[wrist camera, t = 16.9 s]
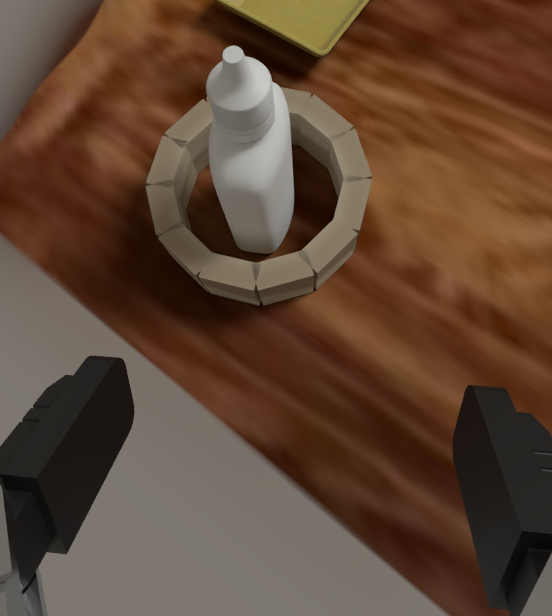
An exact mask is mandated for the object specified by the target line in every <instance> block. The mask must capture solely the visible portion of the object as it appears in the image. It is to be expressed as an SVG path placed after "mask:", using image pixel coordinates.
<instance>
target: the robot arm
mask: <svg viewBox="0 0 552 616" xmlns="http://www.w3.org/2000/svg"><path fill="white" fill-rule="evenodd" d="M133 419H134V403H133V398H132V393H131V389H130V384H129V379H128V375H127V370H126V365H125V362H124V360H123V359H122V358H116V357H115V358H114V357H103V356H89V357H87V358H86V360H85V361H84V362H83V363H82V365H81V366H80V367H79V369H78V370H77V371H76V373H75V374H74V375H73V376H72V375H65V376H64V377H62V378H61V379H59V380H58V381H57V382H55V383H54V384H52V385H51V386H49V387H48V388H47V389H46V390H45V391H44V392H43V394H42V395H41V396H40V397H39V399H38V400H37V401H36V402H35V404H34V405H33V408H31V409H30V410H29V411H28V412H27V414H26V415H25V416H24V418H23V421H22V422H19V424H18V425H17V426H16V428H15V429H14V430H13V431H12V433H11V434H10V435H9V436H8V438H7V439H6V440H5V442H4V443H3V444H2V445H1V446H0V616H47V610H46V604H45V599H44V592H43V587H42V580H41V575H40V571H39V568H38V566H39V565H40V563H41V561H42V559H43V557H44V555H45V554H46V552H51V553H60V554H67V552H68V551H69V548H70V547H71V545H72V543H73V541H74V539H75V537H76V535H77V533H78V531H79V529H80V527H81V525H82V523H83V521H84V519H85V518H86V516H87V514H88V512H89V510H90V508H91V506H92V504H93V502H94V500H95V498H96V496H97V494H98V492H99V490H100V488H101V486H102V484H103V483H104V481H105V479H106V477H107V475H108V473H109V471H110V469H111V467H112V465H113V463H114V461H115V459H116V457H117V455H118V453H119V451H120V450H121V448H122V445H123V444H124V442H125V440H126V438H127V436H128V434H129V432H130V430H131V427H132V424H133ZM453 459H454V464H455V468H456V472H457V476H458V481H459V485H460V489H461V493H462V497H463V501H464V505H465V510H466V514H467V518H468V522H469V526H470V530H471V534H472V539H473V543H474V547H475V551H476V555H477V559H478V563H479V567H480V572H481V576H482V580H483V584H484V588H485V592H486V596H487V601H488V605H489V608H496V609H505V610H509V611H510V615H511V616H552V437H551V435H550V433H549V431H548V430H547V429H546V428H545V427H544V426H543V425H542V424H541V423H540V422H539V421H538V420H537V419H536V418H535V417H534V416H533V415H532V414H531V413H522V412H516V410H515V407H514V405H513V403H512V400H511V398H510V396H509V393H508V391H507V390H506V389H505V388H503V387H489V386H476V385H469V386H467V388H466V390H465V393H464V397H463V401H462V405H461V408H460V412H459V416H458V420H457V424H456V427H455V431H454V436H453Z"/></svg>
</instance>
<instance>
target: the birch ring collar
mask: <svg viewBox="0 0 552 616" xmlns="http://www.w3.org/2000/svg"><path fill="white" fill-rule="evenodd" d="M280 88H281V89H282V91H283V94H284V96H285V99H286V102H287V106H288V111H289V118H290V130H291V144H293V145H298V146H301V147H302V148H303V149H304V150H306V151H307V152H308V153H309V154H310V155H312V156H313V157H314V158H315V159H316V160H317V161H319V162H320V163H321V164H322V165H323V166H324V167H326V168H327V169H328V170H329V173H330V176H331V179H332V182H333V185H334V188H335V191H336V194H337V197H338V203H337V207H336V211H335V215H334V219H333V220H332V221H331V222H330V223H329V224H328V225H327V226H326V227H325V228H324V229H323V230H322V231H321V232H320V233H319V234H318V235H317V236H316V237H315V238H314V239H313V240H312V241H311V242H310V243H309V244H307V245H306V246H305V247H304V248H303V249H302V250H301V251H298V252H295V253H291V254H287V255H284V256H280V257H276V258H273V259H269V260H265V261H262V262H258V263H254V262H250V261H246V260H241V259H237V258H233V257H229V256H225V255H220V254H216V253H212V252H211V251H210V250H209V249H208V248H207V247H206V246H205V245H204V244H203V243H202V242H201V241H200V240H199V239H197V238H196V237H195V236H194V235H193V234H192V231H191V227H190V223H189V218H188V214H187V210H186V208H187V205H188V202H189V199H190V196H191V193H192V190H193V187H194V184H195V181H196V178H197V175H198V173H200V172H201V171H202V170H203V169H204V168H205V167H206V166H207V165H208V164H209V134H210V129H211V124H212V120H213V117H214V115H213V112H212V109H211V105H210V102H209V99H208V97H206V98H207V102H208V103H207V102H206V101H205V100H204V99H202V100H201V101H200V102H199V103H198V104H197V105H196V106H194V107H193V108H192V109H191V110H190V111H189V112H188V113H187V114H185V115H184V116H183V117H182V118H181V119H180V120H179V121H177V122H176V123H175V124H174V125H173V126H172V127H171V128H170V129H168V130H167V131H166V132H165V135H166V136H162V139H161V142H160V144H159V147H158V150H157V153H156V155H155V158H154V161H153V164H152V167H151V169H150V172H149V175H148V178H147V180H146V184H147V185H148V186H145V187H146V191H147V196H148V200H149V205H150V210H151V214H152V219H153V223H154V228H155V233H156V236H157V237H158V239H159V240H160V242H161V243H162V244H163V245H164V247H165V248H166V249H167V250H168V252H169V253H170V254H171V256H172V257H173V258H174V259H175V260H176V261H177V262H178V263H179V264H180V265H181V266H182V267H183V268H184V269H185V270H186V271H187V272H188V273H189V274H190V275H191V276H192V277H193V278H194V279H195V280H196V281H197V282H198V283H199V284H200V285H201V286H202V287H203V288H204V289H205V290H206V291H207V292H208V291H209V292H210V293H211V294H215V295H219V296H223V297H227V298H231V299H235V300H239V301H243V302H247V303H251V304H255V305H259V306H260V302H261V301H262V303H263V306H264V305H267V304H271V303H275V302H278V301H282V300H286V299H289V298H293V297H297V296H300V295H304V294H308V293H311V292H313V288H315V289H316V290H317V289H318V288H319V287H320V286H321V285H322V284H323V283H324V282H325V281H326V280H327V279H328V278H329V277H330V276H331V275H332V274H333V273H334V272H335V271H336V270H337V269H338V268H339V267H340V266H341V265H342V264H343V263H344V262H345V261H346V260H347V259H348V258H349V257H350V256H351V255H352V254H353V252H354V250H355V246H356V242H357V239H358V235H359V231H360V227H361V223H362V219H363V215H364V211H365V207H366V203H367V199H368V195H369V190H370V186H371V182H372V180H371V178H372V175H371V172H370V169H369V166H368V163H367V161H366V158H365V155H364V152H363V149H362V146H361V143H360V141H359V138H358V135H357V132H356V129H354V130H353V125H351V124H350V123H349V122H348V121H346V120H345V119H344V118H343V117H341V116H340V115H339V114H338V113H336V112H335V111H334V110H333V109H332V108H330V107H329V106H328V105H327V104H325V103H324V102H323V101H322V100H320V99H319V98H318V97H317V96H315V95H313V96H312V97H311V93H308V92H303V91H298V90H292V89H287V88H282V87H280Z"/></svg>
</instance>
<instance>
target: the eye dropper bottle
mask: <svg viewBox="0 0 552 616" xmlns="http://www.w3.org/2000/svg"><path fill="white" fill-rule="evenodd" d="M206 83H207V84H206V90H207V91H206V92H207V95H208V99H209V102H210V105H211V109H212V112H213V115H214V117H213V120H212V124H211V129H210V134H209V163H210V170H211V175H212V179H213V183H214V186H215V189H216V192H217V195H218V198H219V201H220V204H221V206H222V209H223V212H224V214H225V217H226V219H227V222H228V225H229V227H230V230H231V232H232V235H233V238H234V240H235V243H236V245H237V246H238V248H239V249H241V250H243V251H247V252H255V253H263V254H269V253H273V252H274V251H276V250H277V249H278V247H279V246H280V244H281V243H282V241H283V239H284V237H285V235H286V233H287V231H288V228H289V226H290V223H291V219H292V215H293V209H294V181H293V164H292V146H291V130H290V118H289V111H288V106H287V102H286V99H285V96H284V94H283V91H282V89H281V88H280V87H279V86H278V85H277V84H276V83H274V82H272V78H271V75H270V73H269V71H268V69H267V68H266V67H265V66H264V64H262V63H261V62H259V61H258V60H256V59H253V58H251V57H246V56H245V55H244V53H243V51H242V49H241V48H240V47H238V46H230V47H227V48H226V49H225V50H224V52H223V61H222V62H220V63H219V64H218V65H216V66H215V67H214V68H213V70H212V71H211V73H210V75H209V76H208V79H207V82H206Z"/></svg>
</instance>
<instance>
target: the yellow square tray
mask: <svg viewBox="0 0 552 616" xmlns="http://www.w3.org/2000/svg"><path fill="white" fill-rule="evenodd" d="M216 1H217V2H218V3H219V4H221V5H222V6H223V7H225V8H226V9H228V10H230V11H231V12H233V13H235V14H237V15H239V16H241V17H243V18H245V19H246V20H248V21H250V22H252V23H254V24H256V25H258V26H259V27H261V28H263V29H265V30H267V31H269V32H271V33H273V34H274V35H276V36H278V37H280V38H282V39H284V40H285V41H287V42H289V43H291V44H293V45H295V46H296V47H298V48H300V49H302V50H304V51H306V52H308V53H310V54H311V55H313V56H315V57H319V58H321V57H324V56H325V55H327V54H328V52H329V51H330V50H331V48H332V47H333V46H334V45H335V43H336V42H337V41H338V39H339V38H340V37H341V36H342V34H343V33H344V32H345V31H346V29H347V28H348V27H349V26H350V24H351V23H352V22H353V21H354V19H355V18H356V17H357V15H358V14H359V13H360V12H361V10H362V9H363V8H364V7H365V5H366V4H367V3H368V2H369V0H216Z"/></svg>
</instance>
